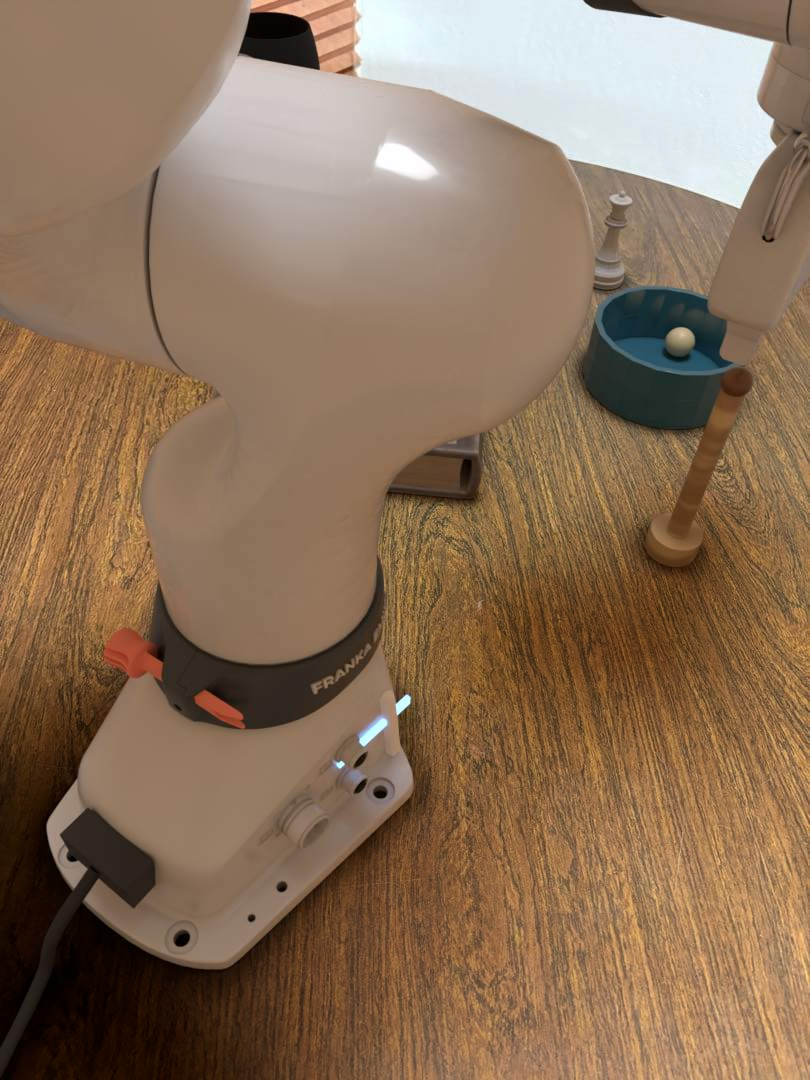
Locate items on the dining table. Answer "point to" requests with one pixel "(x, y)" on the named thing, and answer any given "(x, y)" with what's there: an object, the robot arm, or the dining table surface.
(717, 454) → the wooden peg stand
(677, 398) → the bowl
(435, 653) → the dining table surface
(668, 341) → the beige ball
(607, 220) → the chess piece
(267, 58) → the wine glass
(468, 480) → the book
